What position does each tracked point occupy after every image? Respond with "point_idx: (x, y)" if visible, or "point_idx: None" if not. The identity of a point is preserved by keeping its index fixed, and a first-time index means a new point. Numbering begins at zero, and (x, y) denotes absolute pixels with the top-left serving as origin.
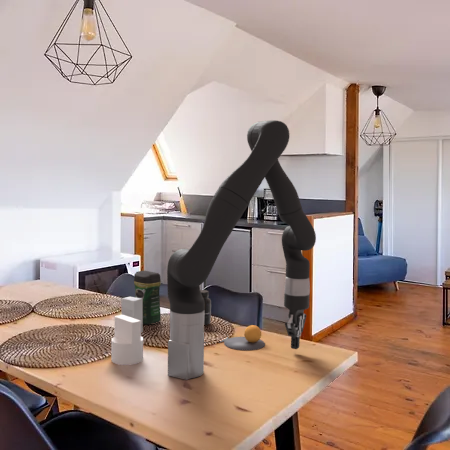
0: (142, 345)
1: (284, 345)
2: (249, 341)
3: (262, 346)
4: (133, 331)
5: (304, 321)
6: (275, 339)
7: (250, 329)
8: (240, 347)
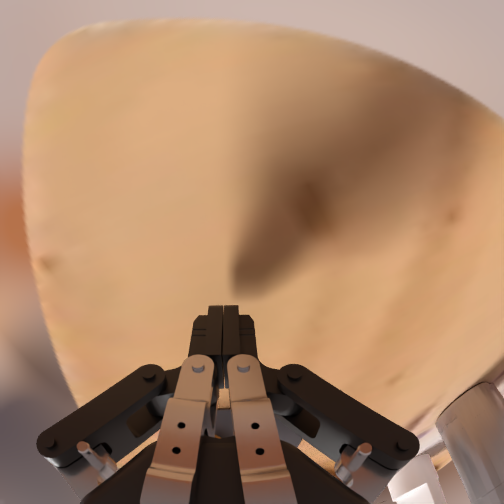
0: (417, 478)
1: (154, 364)
2: None
3: None
4: (442, 493)
5: (87, 419)
6: None
7: None
8: (283, 438)
